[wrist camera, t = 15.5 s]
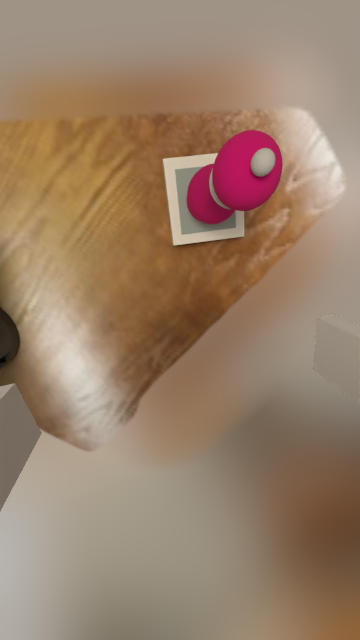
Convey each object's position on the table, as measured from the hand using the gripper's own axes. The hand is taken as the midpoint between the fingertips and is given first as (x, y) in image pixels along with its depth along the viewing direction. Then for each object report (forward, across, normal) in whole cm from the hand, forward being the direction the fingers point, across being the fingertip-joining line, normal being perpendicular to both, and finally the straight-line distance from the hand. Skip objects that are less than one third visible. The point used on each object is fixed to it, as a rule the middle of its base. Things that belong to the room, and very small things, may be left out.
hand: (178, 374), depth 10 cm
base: (+33, +10, +9) cm, 36 cm away
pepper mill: (+30, +10, +9) cm, 33 cm away
